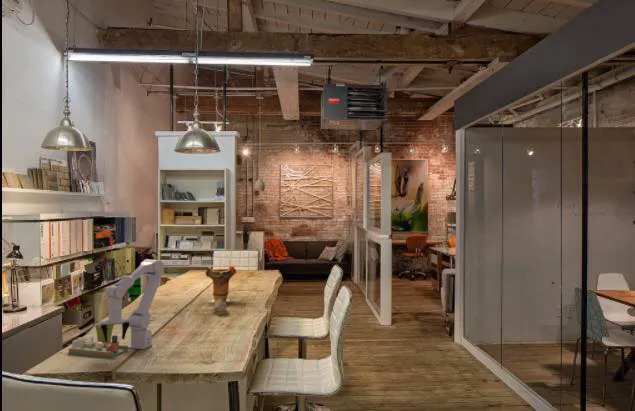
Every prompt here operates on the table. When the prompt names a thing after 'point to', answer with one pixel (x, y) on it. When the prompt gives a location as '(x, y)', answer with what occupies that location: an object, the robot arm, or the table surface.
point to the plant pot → (101, 336)
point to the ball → (99, 346)
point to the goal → (82, 343)
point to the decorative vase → (220, 282)
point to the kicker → (113, 344)
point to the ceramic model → (220, 308)
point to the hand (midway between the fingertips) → (114, 339)
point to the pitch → (98, 351)
